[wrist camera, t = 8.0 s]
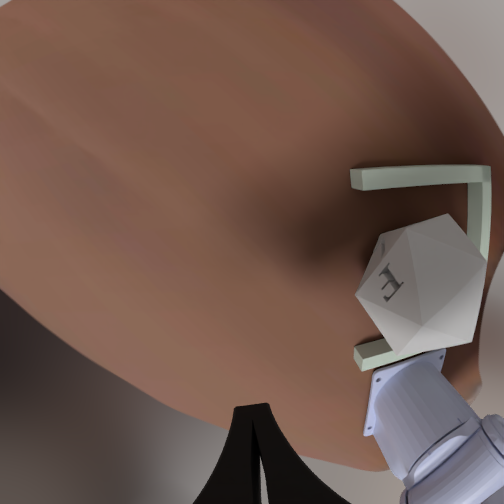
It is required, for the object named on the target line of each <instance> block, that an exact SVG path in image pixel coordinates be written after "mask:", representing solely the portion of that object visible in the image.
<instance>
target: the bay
mask: <svg viewBox="0 0 504 504" xmlns="http://www.w3.org/2000/svg"><path fill="white" fill-rule="evenodd" d="M350 177H351V188H354V189H358V190H363V191H365V190H375V189H386V188H397V187H409V186H422V185H436V184H452V183H468V220H467V236H468V238H469V239H470V240H471V241H472V242H473V244H474V245H475V246H476V248H477V249H478V250H479V251H480V253H481V254H482V255H483V257H484V258H485V259H486V261H487V259H488V250H489V238H490V223H491V166H484V165H413V166H391V167H374V168H360V169H350ZM419 353H421V352H419ZM415 354H418V353H412V354H406V355H399V356H396V354H395V353H394V351H393V350H392V348H391V347H390V345H389V344H388V342H387V341H386V339H385V338H384V339H380V340H376V341H373V342H369V343H365V344H361V345H358V346H354V359H355V361H356V363H357V364H358V366H359V368H360V369H361V371H365V370H368V369H372V368H375V367H379V366H382V365H385V364H388V363H392V362H395V361H398V360H401V359H404V358H407V357H410V356H413V355H415Z"/></svg>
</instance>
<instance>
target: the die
mask: <svg viewBox="0 0 504 504" xmlns="http://www.w3.org/2000/svg"><path fill="white" fill-rule="evenodd" d="M486 267H487V261H486V259H485V258H484V257H483V255H482V254H481V253H480V251H479V250H478V249H477V248H476V246H475V245H474V244H473V242H472V241H471V240H470V239H469V238H468V236H467V235H466V234H465V233H464V231H463V230H462V229H461V228H460V227H459V226H458V224H457V223H456V222H455V221H454V220H453V219H452V217H451V216H450V215H449V214H448V213H447V214H444V215H441V216H438V217H435V218H431V219H428V220H425V221H422V222H418V223H415V224H412V225H409V226H405V227H402V228H399V229H396V230H392V231H389V232H386V233H382V234H380V236H379V239H378V241H377V244H376V246H375V249H374V251H373V255H372V256H371V259H370V261H369V263H368V266H367V268H366V270H365V273H364V275H363V277H362V280H361V282H360V284H359V287H358V289H357V291H356V293H355V296H356V297H357V299H358V300H359V301H360V303H361V304H362V306H363V307H364V308H365V310H366V311H367V313H368V314H369V316H370V317H371V318H372V320H373V321H374V323H375V324H376V326H377V327H378V329H379V330H380V332H381V333H382V335H383V336H384V338H385V339H386V341H387V342H388V344H389V345H390V347H391V348H392V350H393V351H394V353H395V354H396V356H399V355H406V354H412V353H419V352H425V351H430V350H436V349H441V348H446V347H451V346H456V345H461V344H465V343H470V342H472V339H473V335H474V331H475V327H476V323H477V318H478V314H479V309H480V304H481V299H482V293H483V287H484V281H485V274H486Z"/></svg>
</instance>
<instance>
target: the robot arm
mask: <svg viewBox="0 0 504 504" xmlns="http://www.w3.org/2000/svg"><path fill="white" fill-rule="evenodd" d="M445 354H446V349H445V348H441V349H436V350H433V351H430V352H428V353H425V354H422V355H420V356H417V357H414V358H411V359H408V360H405V361H402V362H399V363H396V364H393V365H390V366H387V367H384V368H380V369H377V370H376V371H374V373H373V375H372V382H371V389H370V396H369V403H368V409H367V414H366V420H365V425H364V431H363V434H364V436H369V435H372V434H373V435H374V437H375V439H376V441H377V443H378V445H379V447H380V449H381V451H382V453H383V455H384V457H385V459H386V461H387V463H388V465H389V467H390V469H391V471H392V473H393V474H394V475H395V476H396V477H397V478H398V479H400V480H402V481H403V483H404V485H405V487H406V489H405V490H404V491H403V492H402V494H401V497H400V504H504V418H502V417H501V416H499V415H497V414H495V415H487V416H485V417H484V419H480V418H479V417H478V415H477V414H476V413H475V412H474V411H473V409H472V408H471V407H470V406H469V405H468V403H467V402H466V401H465V400H464V399H463V398H462V396H461V395H460V394H459V393H458V392H457V391H456V389H455V388H454V387H453V386H452V385H451V384H450V383H449V381H448V380H447V379H446V378H445V377H444V376H443V375H442V374H441V369H442V365H443V362H444V358H445ZM260 457H261V461H262V465H263V469H264V473H265V478H266V486H267V494H268V502H269V504H351V503H349V502H348V501H346V500H345V499H344V498H342V497H341V496H339V495H338V494H337V493H336V492H334V491H333V490H332V489H331V488H330V487H328V486H327V485H326V484H325V483H324V482H322V481H321V480H320V479H319V478H318V477H317V476H316V475H315V474H314V473H313V472H312V471H311V470H310V469H309V468H308V466H307V465H306V464H305V463H304V462H303V461H302V460H301V458H300V457H299V456H298V455H297V453H296V452H295V451H294V449H293V448H292V447H291V445H290V444H289V442H288V441H287V439H286V438H285V436H284V435H283V433H282V432H281V430H280V428H279V426H278V424H277V422H276V421H275V418H274V416H273V414H272V411H271V409H270V405H269V404H268V403H261V404H253V405H246V406H237V407H235V408H234V412H233V418H232V423H231V427H230V430H229V434H228V437H227V440H226V442H225V446H224V448H223V451H222V453H221V455H220V458H219V460H218V462H217V464H216V467H215V469H214V471H213V473H212V474H211V476H210V478H209V480H208V481H207V483H206V485H205V486H204V488H203V489H202V491H201V493H200V494H199V496H198V497H197V499H196V500H195V501H194V502H193V504H262V503H261V477H260Z"/></svg>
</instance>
